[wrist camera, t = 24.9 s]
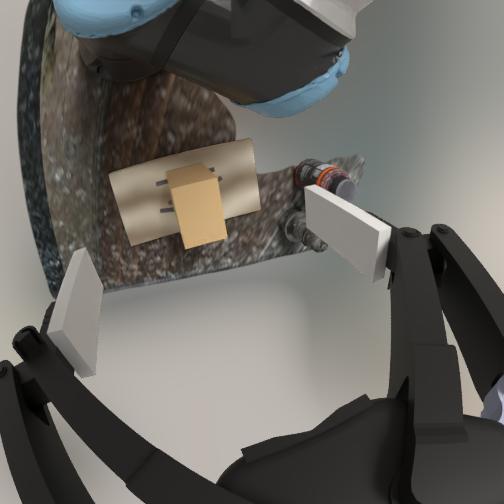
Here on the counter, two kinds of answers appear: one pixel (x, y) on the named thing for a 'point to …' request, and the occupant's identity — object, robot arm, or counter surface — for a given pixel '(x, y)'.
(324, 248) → the grey chess piece
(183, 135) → the counter surface
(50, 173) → the counter surface
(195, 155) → the birch board
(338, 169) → the supplement bottle
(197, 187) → the block
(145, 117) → the counter surface
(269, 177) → the counter surface
